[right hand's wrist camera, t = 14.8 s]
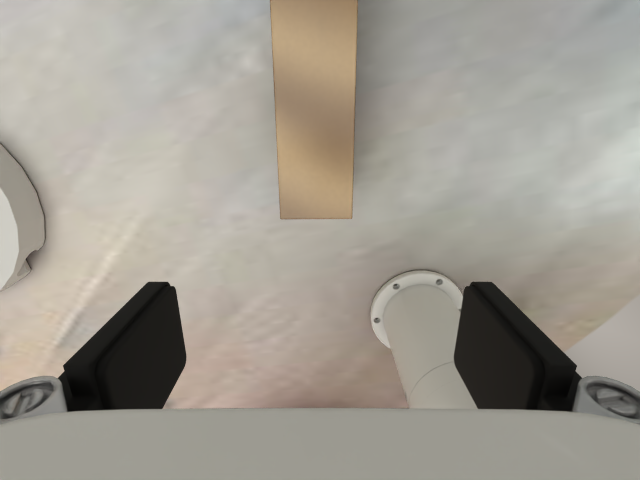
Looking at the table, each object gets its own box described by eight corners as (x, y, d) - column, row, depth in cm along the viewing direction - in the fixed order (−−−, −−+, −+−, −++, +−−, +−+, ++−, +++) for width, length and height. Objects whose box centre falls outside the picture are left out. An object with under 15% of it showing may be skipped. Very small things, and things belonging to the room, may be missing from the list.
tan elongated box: (283, 0, 35) (267, -48, 24) (347, -1, 35) (359, -49, 24) (290, 192, 42) (280, 219, 31) (343, 191, 42) (352, 218, 31)
